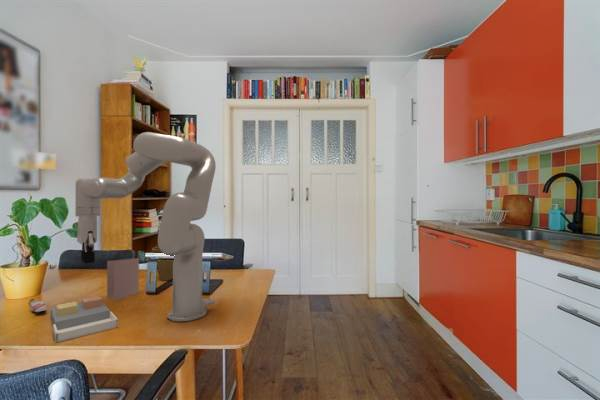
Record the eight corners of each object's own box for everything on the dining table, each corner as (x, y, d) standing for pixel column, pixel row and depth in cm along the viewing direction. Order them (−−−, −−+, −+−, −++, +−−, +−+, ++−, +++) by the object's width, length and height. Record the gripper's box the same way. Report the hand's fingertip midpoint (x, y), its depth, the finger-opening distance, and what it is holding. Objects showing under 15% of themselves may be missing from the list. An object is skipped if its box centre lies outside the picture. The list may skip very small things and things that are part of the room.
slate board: (99, 307, 110) (99, 299, 110) (109, 319, 99) (109, 310, 99) (50, 317, 101) (50, 308, 101) (55, 332, 89) (55, 322, 89)
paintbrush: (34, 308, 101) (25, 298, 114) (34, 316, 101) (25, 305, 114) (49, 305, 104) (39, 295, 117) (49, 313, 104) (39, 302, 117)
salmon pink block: (99, 302, 106) (99, 295, 106) (102, 306, 103) (102, 298, 103) (82, 305, 103) (82, 298, 103) (84, 309, 99) (84, 302, 99)
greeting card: (138, 292, 128) (138, 257, 128) (140, 296, 122) (140, 260, 122) (106, 297, 122) (107, 260, 122) (107, 302, 116) (107, 263, 116)
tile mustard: (75, 308, 100) (75, 301, 100) (77, 312, 97) (77, 305, 97) (56, 312, 97) (56, 305, 97) (58, 317, 93) (58, 309, 93)
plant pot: (188, 278, 151) (189, 247, 151) (158, 284, 140) (158, 250, 140) (177, 273, 161) (177, 244, 161) (148, 278, 151) (148, 247, 151)
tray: (111, 318, 99) (111, 311, 99) (117, 327, 93) (117, 319, 93) (53, 332, 89) (53, 324, 89) (55, 343, 82) (56, 334, 82)
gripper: (72, 211, 113) (72, 259, 113) (79, 213, 101) (78, 267, 100) (95, 211, 118) (95, 257, 118) (105, 212, 106) (104, 263, 106)
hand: (87, 261), depth 109 cm, fingers open, 4 cm apart
